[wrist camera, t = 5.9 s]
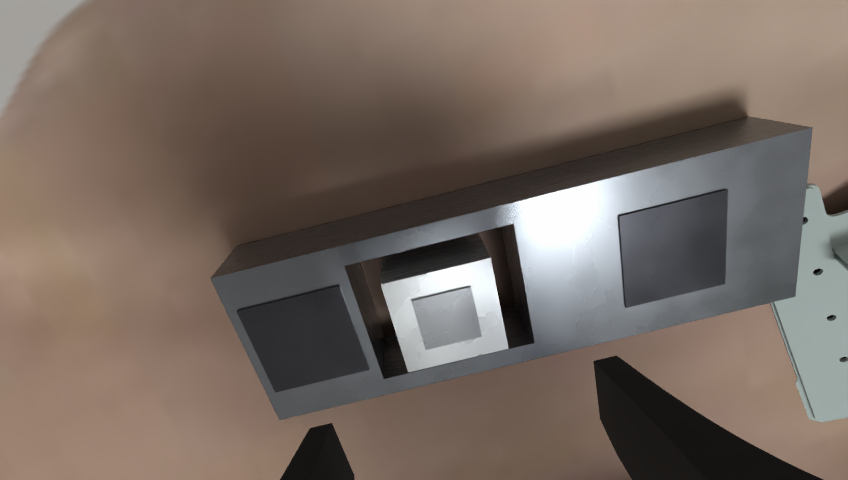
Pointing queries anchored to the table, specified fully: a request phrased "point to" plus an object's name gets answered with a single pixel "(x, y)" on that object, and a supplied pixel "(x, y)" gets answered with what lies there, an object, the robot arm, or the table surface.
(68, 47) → the table surface
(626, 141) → the table surface
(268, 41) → the table surface
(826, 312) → the metal bracket
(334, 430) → the robot arm
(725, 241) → the rail
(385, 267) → the cube with square inset
